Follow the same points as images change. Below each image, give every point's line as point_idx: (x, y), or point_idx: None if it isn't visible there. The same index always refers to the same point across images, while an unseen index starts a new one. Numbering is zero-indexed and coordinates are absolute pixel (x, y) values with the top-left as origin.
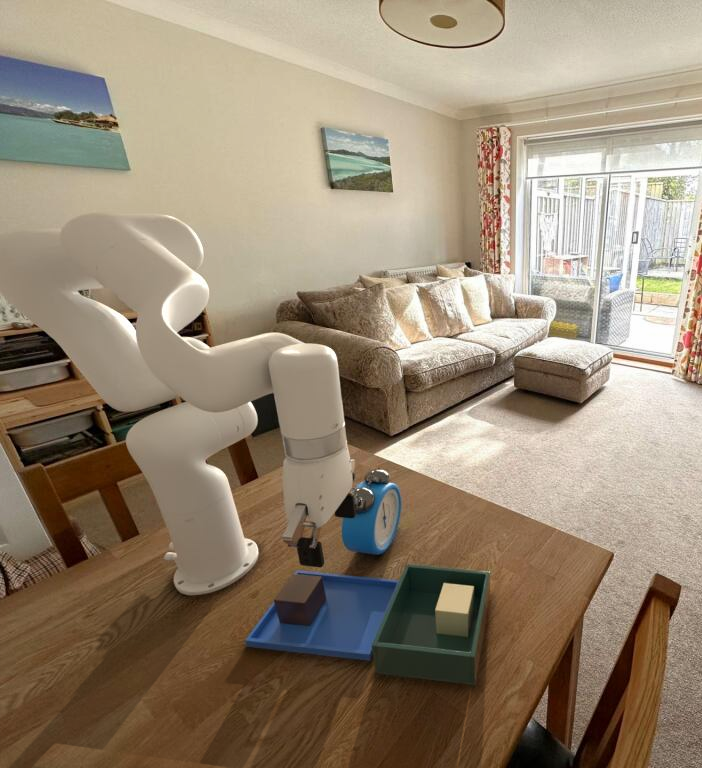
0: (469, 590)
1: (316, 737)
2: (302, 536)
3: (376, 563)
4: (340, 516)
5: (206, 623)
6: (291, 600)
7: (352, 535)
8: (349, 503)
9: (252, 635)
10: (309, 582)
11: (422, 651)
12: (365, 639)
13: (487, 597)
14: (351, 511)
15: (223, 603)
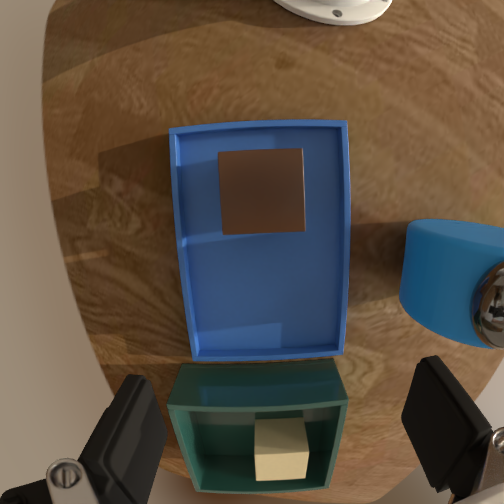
0: (296, 476)
1: (99, 320)
2: (100, 496)
3: (393, 273)
4: (414, 380)
5: (210, 29)
6: (224, 197)
7: (424, 268)
8: (427, 468)
9: (180, 133)
10: (283, 209)
11: (183, 456)
12: (225, 334)
13: None
14: (412, 440)
15: (253, 25)
